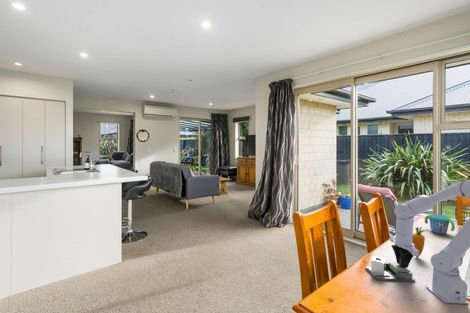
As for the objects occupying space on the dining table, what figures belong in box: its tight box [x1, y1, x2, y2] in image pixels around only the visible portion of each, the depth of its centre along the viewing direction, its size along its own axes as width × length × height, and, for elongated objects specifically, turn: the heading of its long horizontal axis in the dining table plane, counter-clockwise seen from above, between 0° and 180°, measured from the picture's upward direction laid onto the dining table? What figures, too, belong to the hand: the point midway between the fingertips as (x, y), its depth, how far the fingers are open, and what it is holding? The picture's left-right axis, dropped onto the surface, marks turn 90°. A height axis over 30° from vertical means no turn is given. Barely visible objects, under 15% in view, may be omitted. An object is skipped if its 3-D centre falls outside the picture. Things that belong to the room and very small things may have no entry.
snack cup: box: [424, 213, 456, 235], centre depth 154 cm, size 16×10×10 cm
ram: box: [389, 256, 411, 272], centre depth 102 cm, size 6×5×6 cm
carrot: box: [412, 226, 426, 258], centre depth 119 cm, size 5×5×15 cm
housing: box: [370, 255, 387, 275], centre depth 103 cm, size 4×4×5 cm
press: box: [364, 261, 416, 283], centre depth 103 cm, size 9×15×3 cm, turn 87°
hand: (402, 265), depth 102 cm, fingers closed on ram, 2 cm apart
